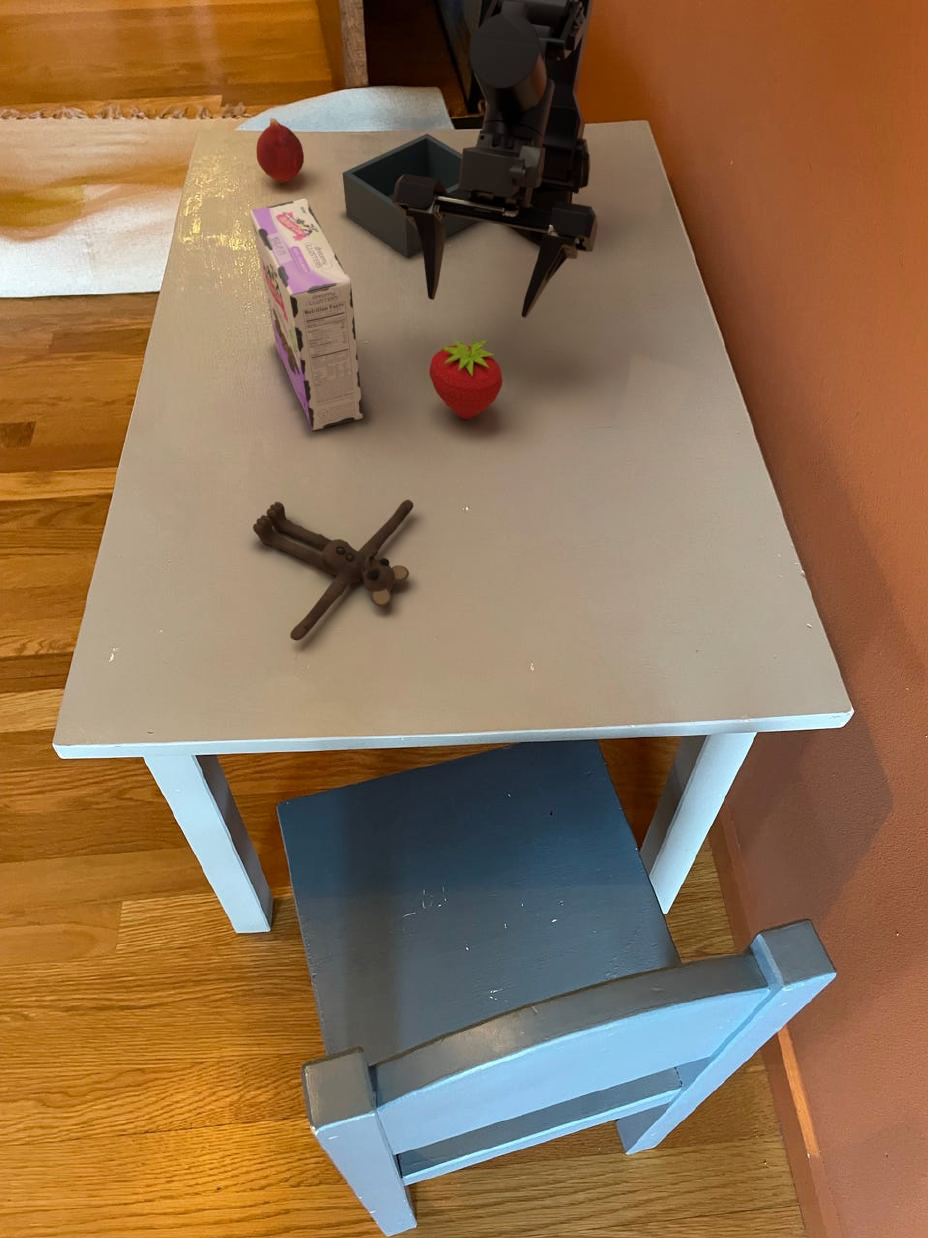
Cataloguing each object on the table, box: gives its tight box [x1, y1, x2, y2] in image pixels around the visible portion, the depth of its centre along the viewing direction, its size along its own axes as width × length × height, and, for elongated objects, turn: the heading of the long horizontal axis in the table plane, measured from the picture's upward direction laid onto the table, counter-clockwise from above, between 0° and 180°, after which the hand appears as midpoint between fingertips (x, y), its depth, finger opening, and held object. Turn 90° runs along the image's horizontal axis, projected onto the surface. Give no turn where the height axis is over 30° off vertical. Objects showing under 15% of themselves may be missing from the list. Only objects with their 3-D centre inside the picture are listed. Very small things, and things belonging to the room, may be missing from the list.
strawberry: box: [428, 332, 504, 420], centre depth 89 cm, size 6×8×10 cm
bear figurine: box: [252, 499, 414, 641], centre depth 81 cm, size 18×4×14 cm
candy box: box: [249, 198, 364, 431], centre depth 89 cm, size 14×6×16 cm, turn 22°
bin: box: [342, 133, 490, 259], centre depth 111 cm, size 14×12×6 cm
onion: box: [256, 117, 305, 184], centre depth 113 cm, size 6×6×8 cm
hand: (477, 307), depth 86 cm, fingers open, 9 cm apart
